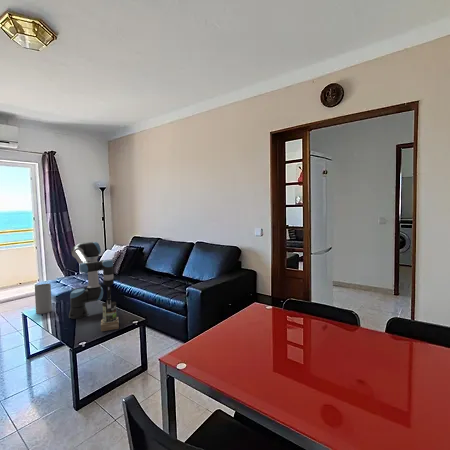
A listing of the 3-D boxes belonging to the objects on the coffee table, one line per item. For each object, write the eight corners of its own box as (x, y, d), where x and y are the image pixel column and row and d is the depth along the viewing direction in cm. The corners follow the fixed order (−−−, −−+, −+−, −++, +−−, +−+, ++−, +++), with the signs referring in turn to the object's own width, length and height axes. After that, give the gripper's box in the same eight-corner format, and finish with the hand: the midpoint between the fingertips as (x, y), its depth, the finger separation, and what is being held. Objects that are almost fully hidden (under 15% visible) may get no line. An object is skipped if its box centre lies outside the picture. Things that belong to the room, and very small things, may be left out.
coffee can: (119, 318, 236) (118, 301, 235) (111, 323, 226) (111, 305, 225) (107, 317, 238) (107, 300, 237) (100, 322, 228) (99, 304, 227)
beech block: (101, 325, 235) (101, 319, 235) (118, 322, 240) (118, 316, 240) (101, 331, 223) (100, 324, 223) (118, 328, 228) (118, 322, 228)
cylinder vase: (46, 314, 262) (45, 287, 261) (32, 314, 263) (31, 287, 261) (54, 309, 275) (53, 283, 274) (41, 309, 275) (40, 283, 274)
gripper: (103, 276, 240) (104, 301, 241) (103, 283, 217) (103, 311, 218) (113, 275, 243) (113, 300, 244) (113, 282, 220) (114, 309, 221)
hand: (109, 305), depth 231 cm, fingers open, 13 cm apart
